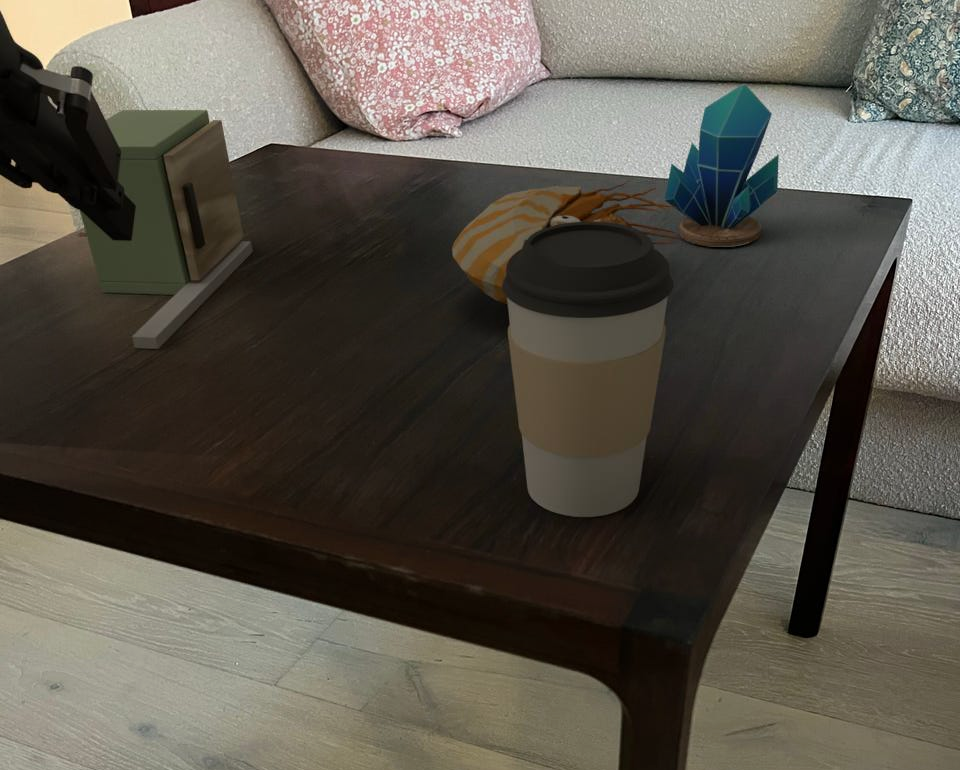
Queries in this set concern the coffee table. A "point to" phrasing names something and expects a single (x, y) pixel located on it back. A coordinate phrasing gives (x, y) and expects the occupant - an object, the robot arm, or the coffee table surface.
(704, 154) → the gemstone
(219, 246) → the sliding door
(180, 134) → the cabinet
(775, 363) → the coffee table surface
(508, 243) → the nautilus
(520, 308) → the coffee cup
